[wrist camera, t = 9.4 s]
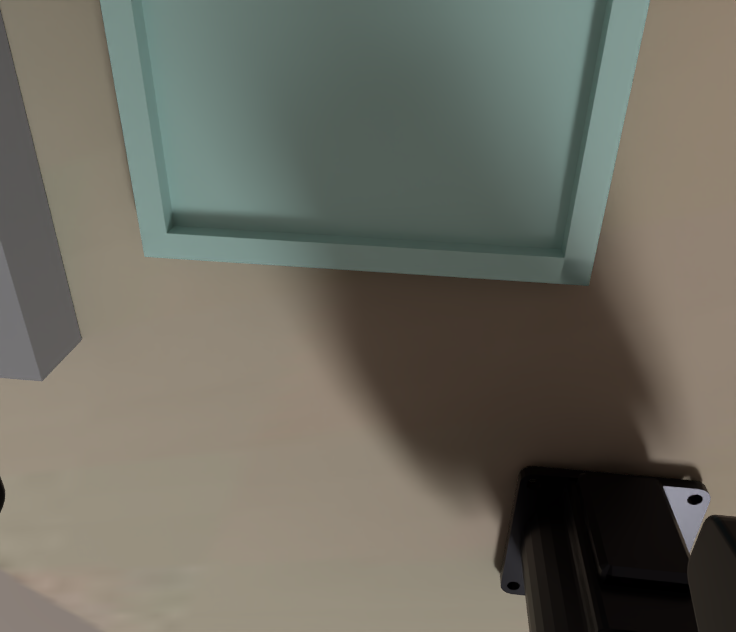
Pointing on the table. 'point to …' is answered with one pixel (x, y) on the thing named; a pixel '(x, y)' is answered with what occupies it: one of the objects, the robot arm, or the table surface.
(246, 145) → the tray
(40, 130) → the table surface
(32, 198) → the pdu strip
